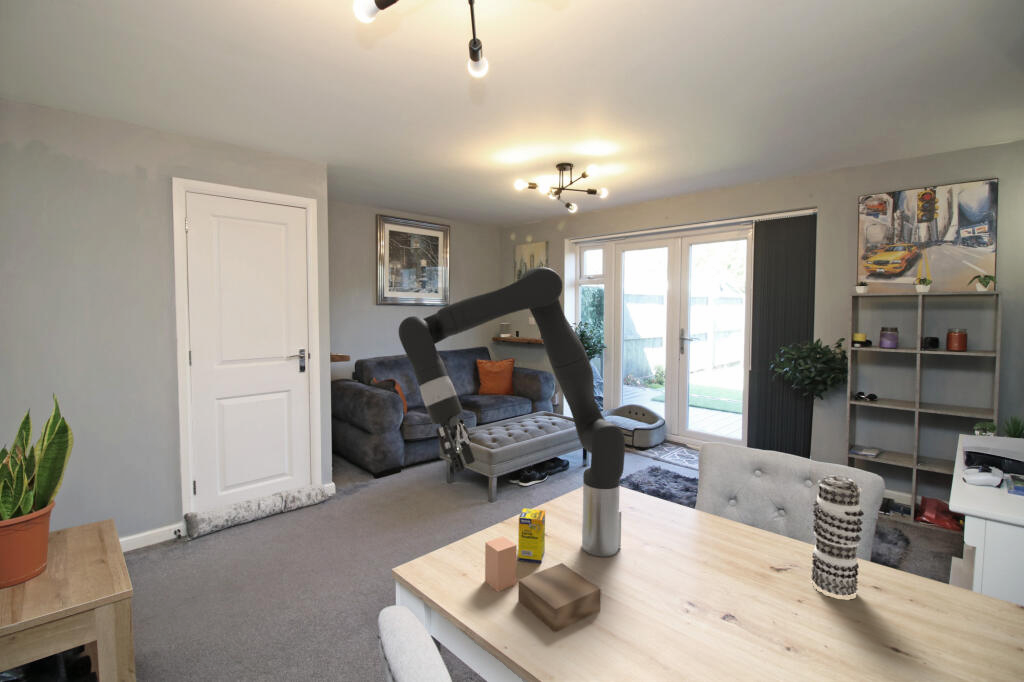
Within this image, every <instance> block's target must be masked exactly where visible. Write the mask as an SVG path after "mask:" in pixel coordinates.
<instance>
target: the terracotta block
mask: <svg viewBox="0 0 1024 682" xmlns="http://www.w3.org/2000/svg"><path fill="white" fill-rule="evenodd" d="M484 547H485V548H484V549H485V551H484V556H485V557H484V559H485V560H484V568H485V569H484V582H486V583H487V584H488V585H489V584H490V585H491V588H493V590H495V591H496V592H500V591H503V590H505V589H507V587H508V588H510V587H512V585H513V586H514V584H515V585H516V584H517V544H516V543H514V542H512V541H511V540H510V539H509V538H507V537H505V536H504V535H503V536H501V537H498V538H494V539H492V540H488V541H486V542H485V545H484ZM490 585H489V586H490Z"/></svg>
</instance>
